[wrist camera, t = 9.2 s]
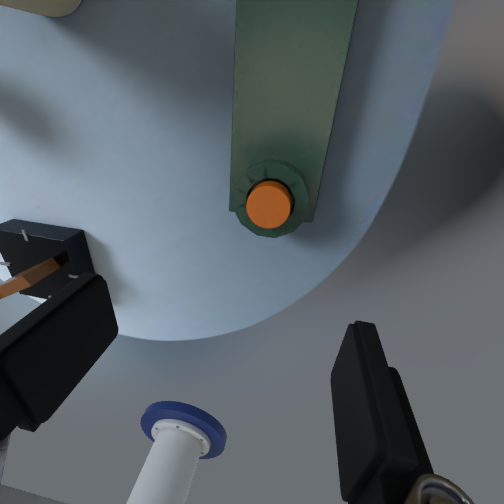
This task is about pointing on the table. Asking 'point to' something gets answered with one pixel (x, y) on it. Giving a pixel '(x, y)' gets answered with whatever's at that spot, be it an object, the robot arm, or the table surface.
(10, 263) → the clamp block
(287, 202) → the button
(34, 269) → the wooden rectangular beam
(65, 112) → the table surface
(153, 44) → the table surface
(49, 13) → the coffee cup
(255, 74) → the button box
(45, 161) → the table surface
